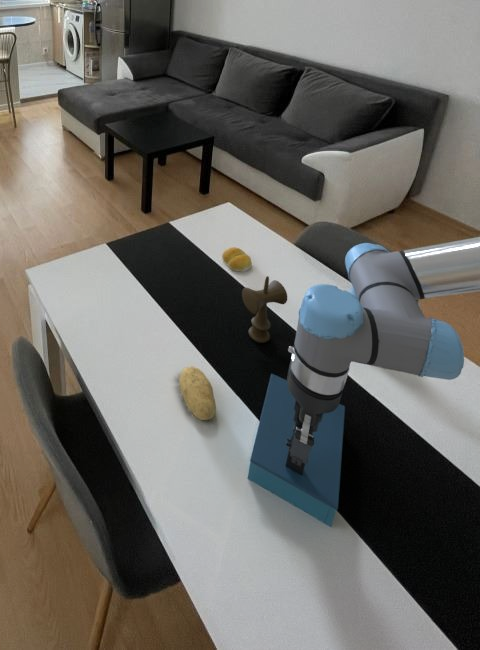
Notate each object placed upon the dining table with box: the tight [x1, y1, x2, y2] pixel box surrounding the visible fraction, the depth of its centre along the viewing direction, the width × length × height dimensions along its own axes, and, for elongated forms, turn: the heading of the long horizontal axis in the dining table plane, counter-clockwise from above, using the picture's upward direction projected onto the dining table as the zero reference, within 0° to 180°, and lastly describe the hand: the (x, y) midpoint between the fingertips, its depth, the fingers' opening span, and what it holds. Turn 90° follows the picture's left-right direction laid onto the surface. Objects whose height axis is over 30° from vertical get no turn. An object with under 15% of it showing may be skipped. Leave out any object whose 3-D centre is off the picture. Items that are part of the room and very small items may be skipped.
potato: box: [179, 365, 217, 421], centre depth 95 cm, size 7×11×6 cm, turn 7°
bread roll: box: [221, 247, 253, 272], centre depth 136 cm, size 8×9×4 cm
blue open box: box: [247, 461, 337, 528], centre depth 83 cm, size 19×14×8 cm
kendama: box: [241, 275, 288, 344], centre depth 107 cm, size 6×10×20 cm, turn 106°
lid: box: [249, 373, 346, 511], centre depth 81 cm, size 20×14×1 cm
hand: (294, 466), depth 76 cm, fingers closed
